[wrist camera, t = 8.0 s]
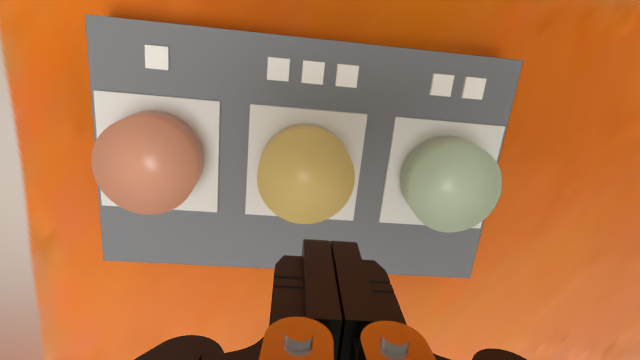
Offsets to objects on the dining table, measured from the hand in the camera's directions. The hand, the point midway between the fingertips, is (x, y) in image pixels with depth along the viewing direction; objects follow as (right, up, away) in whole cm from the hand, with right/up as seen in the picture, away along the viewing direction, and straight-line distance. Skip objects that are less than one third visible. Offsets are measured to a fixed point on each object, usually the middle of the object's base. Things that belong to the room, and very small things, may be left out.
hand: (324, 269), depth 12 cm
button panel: (-1, +4, +11) cm, 12 cm away
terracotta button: (-8, +4, +8) cm, 12 cm away
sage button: (+6, +3, +9) cm, 11 cm away
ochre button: (-1, +3, +8) cm, 9 cm away
